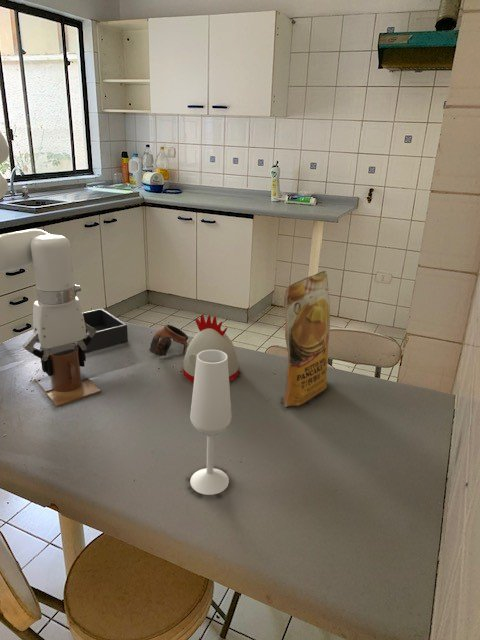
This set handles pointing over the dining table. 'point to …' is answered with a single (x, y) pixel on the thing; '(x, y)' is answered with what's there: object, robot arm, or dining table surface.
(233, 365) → the kitchen timer
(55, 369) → the brown mug
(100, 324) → the dark grey open box
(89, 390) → the wooden flat board
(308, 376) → the pancake mix bag
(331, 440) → the dining table surface
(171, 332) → the pottery mug
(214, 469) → the champagne flute
